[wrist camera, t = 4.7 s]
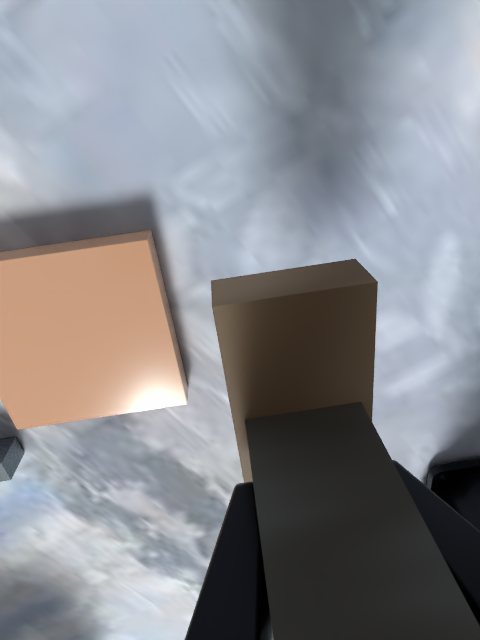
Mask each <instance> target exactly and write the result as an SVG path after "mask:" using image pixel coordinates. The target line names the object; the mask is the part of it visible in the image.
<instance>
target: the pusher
mask: <svg viewBox="0 0 480 640" xmlns="http://www.w3.org/2000/svg"><path fill="white" fill-rule="evenodd" d="M377 284H378V282H377V281H376V280H375V279H374V278H373V276H372V275H371V274H370V273H369V272H368V271H367V270H366V269H365V268H364V267H363V266H362V265H361V264H360V263H359V262H358V261H357V260H356V259H351V260H345V261H338V262H331V263H325V264H318V265H311V266H305V267H298V268H292V269H285V270H278V271H272V272H265V273H259V274H252V275H245V276H239V277H232V278H226V279H219V280H212V281H211V291H212V309H213V314H214V320H215V325H216V330H217V336H218V341H219V347H220V352H221V358H222V363H223V369H224V374H225V380H226V385H227V391H228V396H229V402H230V407H231V413H232V418H233V423H234V429H235V434H236V440H237V445H238V451H239V456H240V462H241V467H242V473H243V478H244V483H245V482H253V486H254V494H255V502H256V509H257V517H258V525H259V532H260V540H261V548H262V555H263V563H264V571H265V578H266V586H267V593H268V601H269V609H270V616H271V624H272V632H273V639H274V640H480V626H479V624H478V622H477V620H476V618H475V617H474V615H473V613H472V611H471V609H470V607H469V605H468V603H467V601H466V599H465V598H464V596H463V594H462V592H461V590H460V588H459V586H458V584H457V582H456V581H455V579H454V577H453V575H452V573H451V571H450V569H449V567H448V565H447V563H446V562H445V560H444V558H443V556H442V554H441V552H440V550H439V548H438V546H437V545H436V543H435V541H434V539H433V537H432V535H431V533H430V531H429V529H428V527H427V526H426V524H425V522H424V520H423V518H422V516H421V514H420V512H419V510H418V509H417V507H416V505H415V503H414V501H413V499H412V497H411V495H410V493H409V491H408V490H407V488H406V486H405V484H404V482H403V480H402V478H401V476H400V474H399V472H398V471H397V469H396V467H395V465H394V463H393V461H392V459H391V457H390V455H389V454H388V452H387V450H386V448H385V446H384V444H383V442H382V440H381V438H380V436H379V435H378V433H377V431H376V429H375V427H374V425H373V423H372V405H373V381H374V357H375V332H376V308H377Z"/></svg>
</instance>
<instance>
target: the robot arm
mask: <svg viewBox="0 0 480 640" xmlns="http://www.w3.org/2000/svg"><path fill="white" fill-rule="evenodd" d="M392 461H393V463H394V465H395V467H396V469H397V471H398V472H399V474H400V476H401V478H402V480H403V482H404V484H405V486H406V488H407V490H408V491H409V493H410V495H411V497H412V499H413V501H414V503H415V505H416V507H417V509H418V510H419V512H420V514H421V516H422V518H423V520H424V522H425V524H426V526H427V527H428V529H429V531H430V533H431V535H432V537H433V539H434V541H435V543H436V545H437V546H438V548H439V550H440V552H441V554H442V556H443V558H444V560H445V562H446V563H447V565H448V567H449V569H450V571H451V573H452V575H453V577H454V579H455V581H456V582H457V584H458V586H459V588H460V590H461V592H462V594H463V596H464V598H465V599H466V601H467V603H468V605H469V607H470V609H471V611H472V613H473V615H474V617H475V618H476V620H477V622H478V624H479V626H480V459H475V460H469V461H463V462H456V463H450V464H444V465H438V466H435V467H433V468H432V469H431V470H430V471H429V473H428V479H427V486H425V485H424V484H423V483H422V482H421V481H419V480H418V479H417V478H416V477H415V476H413V475H412V474H411V473H410V472H409V471H407V470H406V469H405V468H404V467H403V466H402V465H400V464H399V463H398V462H397V461H394V460H392ZM185 640H274V639H273V632H272V624H271V616H270V609H269V601H268V593H267V586H266V578H265V571H264V563H263V555H262V548H261V540H260V532H259V525H258V517H257V509H256V502H255V494H254V486H253V482H245V483H239V484H237V485H236V486H235V488H234V490H233V493H232V496H231V500H230V503H229V506H228V509H227V512H226V515H225V518H224V521H223V524H222V527H221V530H220V533H219V536H218V539H217V542H216V545H215V549H214V552H213V555H212V558H211V561H210V564H209V567H208V570H207V573H206V576H205V579H204V582H203V585H202V588H201V591H200V594H199V598H198V601H197V604H196V607H195V610H194V613H193V616H192V619H191V622H190V625H189V628H188V631H187V634H186V637H185Z"/></svg>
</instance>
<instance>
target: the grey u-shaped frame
mask: <svg viewBox="0 0 480 640" xmlns="http://www.w3.org/2000/svg"><path fill="white" fill-rule="evenodd" d="M23 455H24V451H23V449H22V447H21V445H20V444H19V442H18V440H17V438H16V437H13V438H6V439H0V482H1V481H7V480H11V479H12V477H13V475H14V473H15V471H16V469H17V467H18V465H19V463H20V461H21V459H22V457H23Z"/></svg>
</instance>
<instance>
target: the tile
mask: <svg viewBox="0 0 480 640" xmlns="http://www.w3.org/2000/svg"><path fill="white" fill-rule="evenodd" d="M0 399H1V401H2V402H3V404H4V406H5V408H6V410H7V412H8V414H9V415H10V417H11V419H12V421H13V423H14V425H15V427H16V429H17V430H18V429H25V428H31V427H38V426H45V425H51V424H58V423H65V422H71V421H78V420H85V419H91V418H98V417H105V416H111V415H118V414H125V413H131V412H138V411H145V410H151V409H158V408H165V407H171V406H178V405H185V404H187V399H188V385H187V381H186V376H185V372H184V368H183V363H182V359H181V355H180V351H179V346H178V342H177V338H176V334H175V329H174V325H173V321H172V316H171V312H170V308H169V304H168V299H167V295H166V291H165V287H164V282H163V278H162V274H161V270H160V265H159V261H158V257H157V252H156V248H155V244H154V240H153V235H152V231H151V230H148V231H141V232H134V233H127V234H120V235H113V236H107V237H100V238H93V239H86V240H79V241H72V242H65V243H58V244H51V245H44V246H37V247H30V248H23V249H16V250H9V251H2V252H0Z"/></svg>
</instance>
